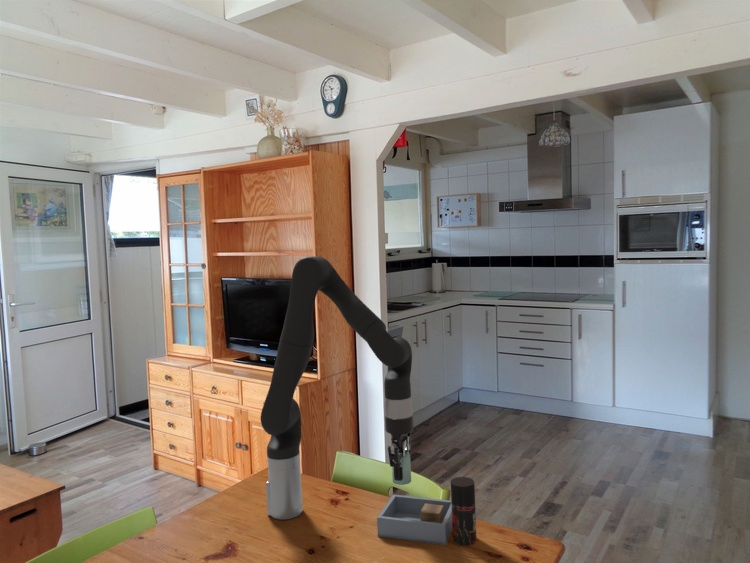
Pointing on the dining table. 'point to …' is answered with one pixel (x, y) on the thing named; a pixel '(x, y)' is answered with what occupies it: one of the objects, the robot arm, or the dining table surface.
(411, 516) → the box
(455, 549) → the dining table surface
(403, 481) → the teal cylinder
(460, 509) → the deodorant
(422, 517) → the walnut cube
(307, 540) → the dining table surface
